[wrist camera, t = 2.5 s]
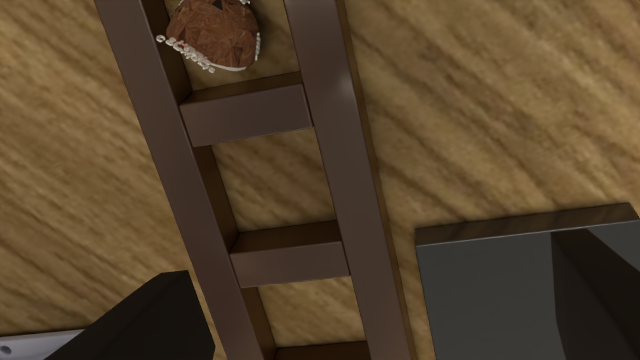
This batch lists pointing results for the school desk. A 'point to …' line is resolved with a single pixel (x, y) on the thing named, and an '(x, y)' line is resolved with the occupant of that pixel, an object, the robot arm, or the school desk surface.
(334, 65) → the rack
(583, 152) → the school desk surface
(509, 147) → the school desk surface
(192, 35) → the chocolate
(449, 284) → the board
